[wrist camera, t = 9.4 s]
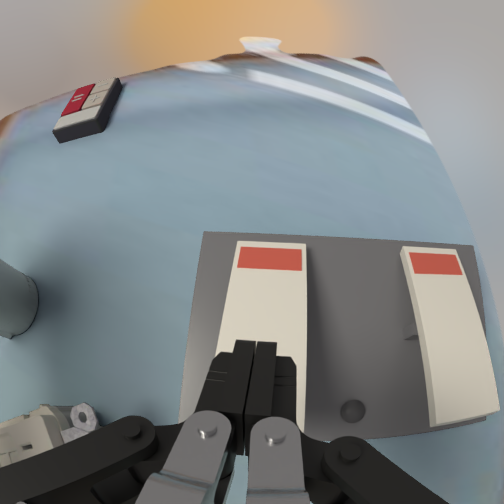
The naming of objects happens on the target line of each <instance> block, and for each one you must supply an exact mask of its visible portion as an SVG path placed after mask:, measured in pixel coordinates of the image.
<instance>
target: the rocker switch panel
mask: <svg viewBox="0 0 504 504" xmlns="http://www.w3.org/2000/svg"><path fill="white" fill-rule="evenodd" d="M237 241H256V242H279V243H301V244H306V270H307V359H306V396H305V420H304V434H305V435H307V436H308V437H310V438H312V439H315V440H319V441H333V440H334V439H336V438H339V437H343V436H354V437H358V438H361V439H375V438H387V437H396V436H405V435H412V434H419V433H426V432H432V431H438V430H443V429H449V428H454V427H459V426H463V425H468V424H472V423H476V422H480V421H484V420H486V416H484V417H480V418H475V419H471V420H466V421H462V422H457V423H452V424H447V425H441V426H435V427H430V420H429V409H428V398H427V389H426V381H425V373H424V366H423V360H422V353H421V347H420V341H419V336H418V330H417V325H416V320H415V315H414V310H413V305H412V301H411V296H410V292H409V288H408V284H407V279H406V275H405V271H404V268H403V264H402V260H401V256H400V252H401V249H402V247H403V246H410V247H427V248H443V249H456V251H457V254H458V256H459V259H460V261H461V264H462V267H463V269H464V272H465V275H466V277H467V280H468V283H469V286H470V289H471V292H472V294H473V297H474V301H475V304H476V307H477V310H478V313H479V317H480V320H481V323H482V327H483V331H484V334H485V338H486V330H485V318H484V309H483V301H482V293H481V286H480V279H479V273H478V268H477V262H476V257H475V252H474V247H473V246H472V245H458V244H444V243H429V242H414V241H398V240H381V239H364V238H345V237H326V236H305V235H284V234H260V233H234V232H206V231H204V233H203V239H202V245H201V251H200V257H199V263H198V269H197V276H196V282H195V289H194V295H193V302H192V309H191V316H190V324H189V331H188V339H187V347H186V355H185V363H184V371H183V380H182V389H181V399H180V408H179V419H178V424H179V423H181V422H183V421H185V420H186V419H187V418H188V417H189V416H191V415H192V414H193V413H194V411H195V409H196V406H197V403H198V400H199V397H200V394H201V391H202V388H203V385H204V382H205V380H206V376H207V374H208V372H209V368H210V365H211V362H212V360H213V359H214V358H215V354H216V349H217V344H218V338H219V333H220V328H221V322H222V317H223V312H224V307H225V302H226V297H227V291H228V286H229V281H230V276H231V271H232V266H233V261H234V256H235V251H236V246H237Z"/></svg>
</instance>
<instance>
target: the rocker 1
mask: <svg viewBox="0 0 504 504" xmlns="http://www.w3.org/2000/svg"><path fill="white" fill-rule="evenodd" d="M236 339H238V340H251V341H256V346H257V341H265V342H277V354H276V356H290V357H291V358H292V359H293V361H294V363H295V364H296V366H297V387H296V388H297V400H296V421H297V425H298V427H299V429H300V430H301V431H302V432H303V433H304V420H305V396H306V359H307V270H306V244H301V243H279V242H256V241H237V246H236V251H235V256H234V261H233V266H232V271H231V276H230V281H229V286H228V291H227V297H226V302H225V307H224V312H223V317H222V322H221V328H220V333H219V338H218V344H217V349H216V354H215V357H216V356H217V355H218V354H219V353H220V352H233V349H234V345H235V341H236Z"/></svg>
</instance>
